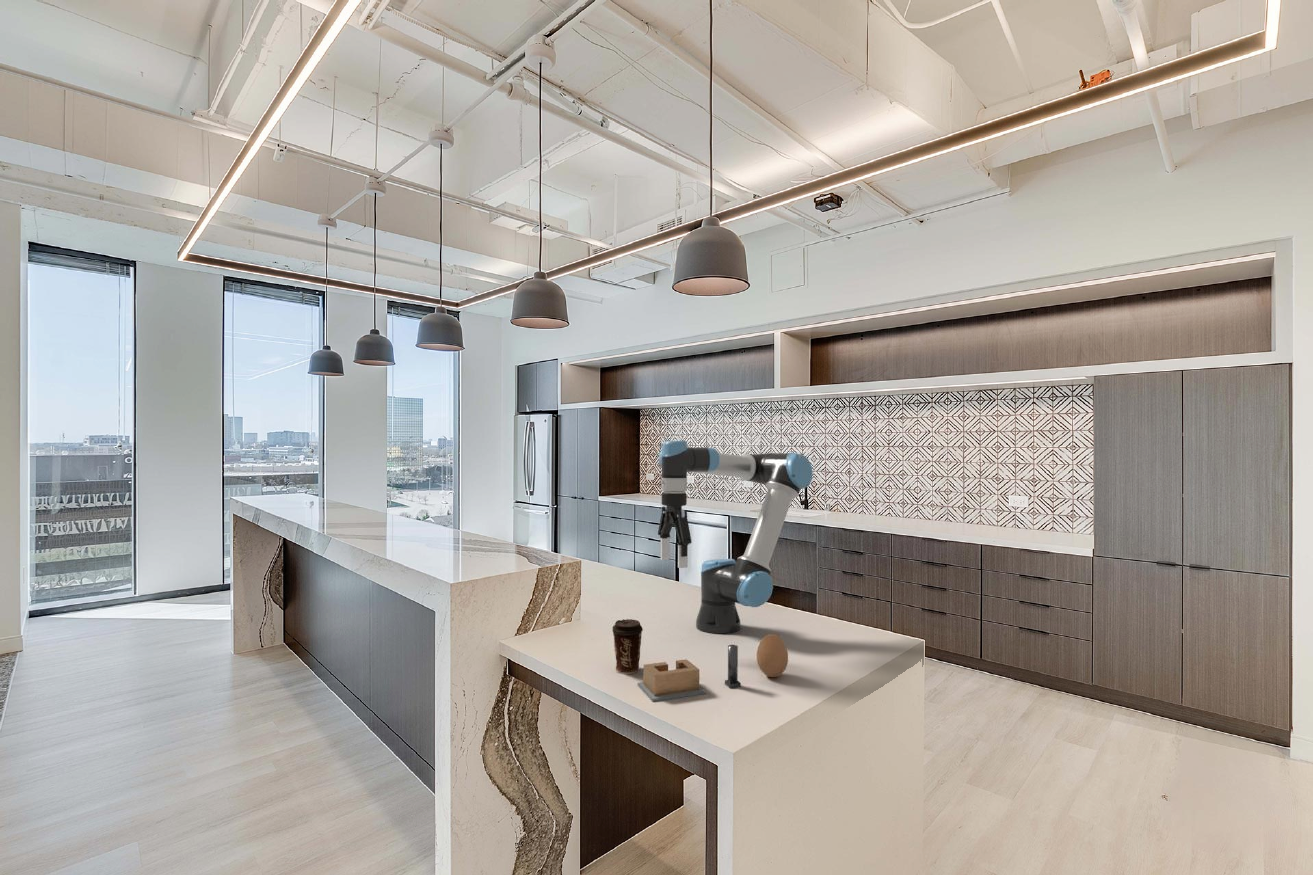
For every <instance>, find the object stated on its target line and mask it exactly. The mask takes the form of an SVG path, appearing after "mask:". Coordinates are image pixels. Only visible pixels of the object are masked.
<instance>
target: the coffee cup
mask: <svg viewBox="0 0 1313 875" xmlns="http://www.w3.org/2000/svg"><path fill="white" fill-rule="evenodd" d="M643 631H644V630H643V627H642V625H641V623H640V621H639V620H637V619H631V618H630V619H629V618H628V619H619V620H616V621H615V623H614V624H613V625H612V633H613V639H614V641H613V643H614V644H613V646H614V653H615V654H614V655H615V660H616V665H615V671H616V673H619V674H622V675H623V674H624V675H631V674H636V673H637V672H638V671H639V669H640V659H641V645H642V635H643V634H642V632H643Z"/></svg>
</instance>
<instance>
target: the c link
mask: <svg viewBox="0 0 1313 875" xmlns="http://www.w3.org/2000/svg"><path fill="white" fill-rule="evenodd" d="M642 682H643V685H644V686H645V687H646V688H647V689H648V690H649V691H650V692H651V693H652V694H653V695H654V696H660V695H666V694H673V693H680V692H687V691H693V690H699V686H700V669H699V667H697V666H696V665H694V664H693V663H692V662H690V661H689V659H687V658H685V659H678V660H675V669H671V670H669V664H668V663H667V662H666V661H662V662H657V663H654V662H653V663H647V664H643V681H642Z"/></svg>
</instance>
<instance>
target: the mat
mask: <svg viewBox="0 0 1313 875" xmlns="http://www.w3.org/2000/svg"><path fill="white" fill-rule="evenodd" d="M637 686H638V687H639V688H640V690H641V691H642V692H643V693H644V694H645V695H646V696H647V697H648V698H649V700H651V702H659V701H666V700H672V699H679V698H687V697H693V696H694V697H695V696H699V695H705V694H706V690H704V689H703V688H702V687H701V686H700V685H699V690H693V691H687V692H680V693H673V694H666V695H660V696H654V695H653V694H652V693H651V692H650V691H649V690H648V689H647V688H646V687H645V686H644V685H643V681H642V682H637Z"/></svg>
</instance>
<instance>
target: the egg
mask: <svg viewBox="0 0 1313 875" xmlns="http://www.w3.org/2000/svg"><path fill="white" fill-rule="evenodd" d="M756 663H757V666H758V667H759V669H760V671H761V672H762V673H763V675H765V676H767V677H769V678H776V677H779V676H781V675H782V674H783V673H784V672H785V671H786V669H787V666H788V664H789V654H788V649H787V647H786V644H785V643H784V640H783V639H782V638H781V637H780V636H778V635H777V634H775V633H768V634H767V635H765V636H763V638H762V639H761V641H759V644H758V646H757V650H756Z"/></svg>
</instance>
